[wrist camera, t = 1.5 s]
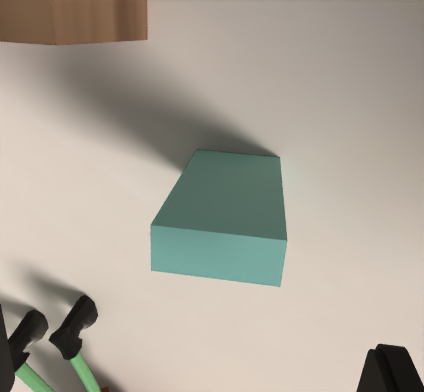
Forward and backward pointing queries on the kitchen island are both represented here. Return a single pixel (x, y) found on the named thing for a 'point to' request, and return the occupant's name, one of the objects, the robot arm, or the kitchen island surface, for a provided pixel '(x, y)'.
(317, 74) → the kitchen island surface
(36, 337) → the toy
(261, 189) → the domino
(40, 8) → the domino
